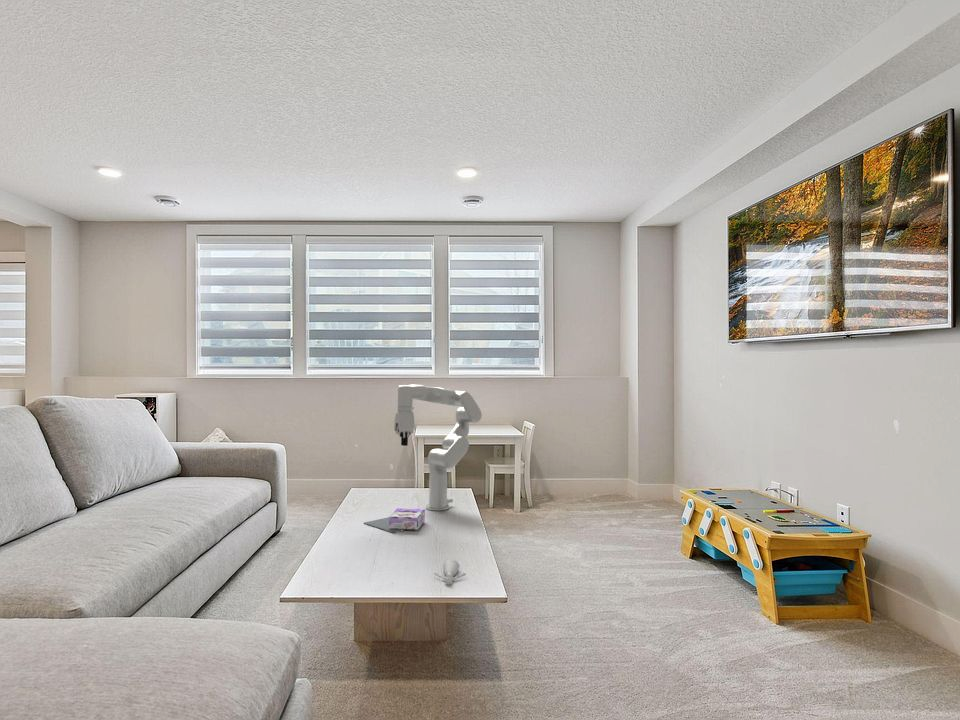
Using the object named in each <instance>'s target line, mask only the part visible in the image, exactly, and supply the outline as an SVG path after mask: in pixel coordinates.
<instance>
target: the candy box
mask: <svg viewBox="0 0 960 720" xmlns="http://www.w3.org/2000/svg"><path fill="white" fill-rule="evenodd" d="M388 517H389V529H407V530H412V531H413V530H416V531H417V530H419V529H420V528H421V526H422V525H423V524H424V523H425V520H426V518H425V517H426V509H424V508H423V509H421V508H399V507H398V508H396V509H395V510H394V511H393V512H392V513H391V514H390V516H388Z"/></svg>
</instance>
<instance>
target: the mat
mask: <svg viewBox="0 0 960 720" xmlns="http://www.w3.org/2000/svg"><path fill="white" fill-rule="evenodd" d="M389 517H390V516H387V517H384V518H379V519H373V520H370V521H365V522H363V525H366V524H367V525H366V526H369V525H370V526H369V527H372V526H373V528H375V527H377V528H376V529H378V528H380V529H379V530H382V529H383V530H382V531H385V530H386V531H385V532H388V531H389V532H388V533H391V532H392V533H391V534H393V532H394V533H397V531H399V532H402V531H401V530H403V531H406V530H405V529H389Z"/></svg>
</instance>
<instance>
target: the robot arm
mask: <svg viewBox="0 0 960 720" xmlns="http://www.w3.org/2000/svg"><path fill="white" fill-rule="evenodd" d="M413 400H417V401H421V402H423V401H424V402H428V403H434V404H438V405H446V406H453V407H458V408H457V410H456V411H455V425H454V427H453V428H452V430H451V431H450V432H449V433H448V434H447V435H446V436H445V438H444V439H443V440H442V442H441V447H442V448H438V447H437V448H433V449H431V450H430V451H429V453H428V455H427V463H428V468H429V470H428V471H429V475H428V477H429V479H428V480H429V483H428V484H429V485H428V491H429V492H428V504H427V505H426V506H425V509H427V510H429V511H446V510H449V509H450V505H449V504H450V503H453V502H454V499H453V498H448V472H447V469H449V470H450V469H453V468H454V467H455V466H457V465H458V463H459V462H461V459H462V458H463V457H464V456H465V455H466V454H467V452H468V450H469V447H470V442H469V440H468V438H467V437H468V435H469V433H470V425H469V424H470V423H473V424H475V423H479V422H480V421H481V420H482V417H483V416H482V415H483V414H482V410H481V408H480V406H479V405H478V403H477V402H476V400H475V399H474V397H473V396H472V395H471V393H470V392H468V391H465V390H456V389H448V388H443V387H437V386H436V387H435V386H432V387H431V386H425V385H423V384H414V383H413V384H408V385H407V384H405V385H404V384H402V385H401V384H400V385H398V387H397V411H396V412H395V416H394V421H393V422H394V424H393V427H394V428H393V431H394V432H395V435H398V436H399V437H400V438H401V439H400V445H401V446H405V447H407V446H408V445H409V444H408V441H409V439H408V438H409V437H410V436H411V435H412V434H414V430H415V416H414V412H413V410H414V409H415V408H414V406H413V405H414V404H413Z"/></svg>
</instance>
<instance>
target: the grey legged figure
mask: <svg viewBox="0 0 960 720" xmlns="http://www.w3.org/2000/svg"><path fill="white" fill-rule="evenodd" d="M460 566H461V565H460V564H459V561H458V560H456V559H454V558H451V559H450V558H449V559H446V560H445V561H444V562H443V563H442V569H443V572H444V575H445V576H443V575H440V574H438V573H437V572H433V575H435V576H437V577H440V579H443V580H444V581H445V582H444V584H445V585H446V586H451V585H453V582H454V581H455V580H457V579H459V578H461V577H463V576H466V575H467V573H466V572H463V573H462V574H461V575H456V574H457V572H458V571H459V568H460ZM455 575H456V576H455ZM454 576H455V577H454Z"/></svg>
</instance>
